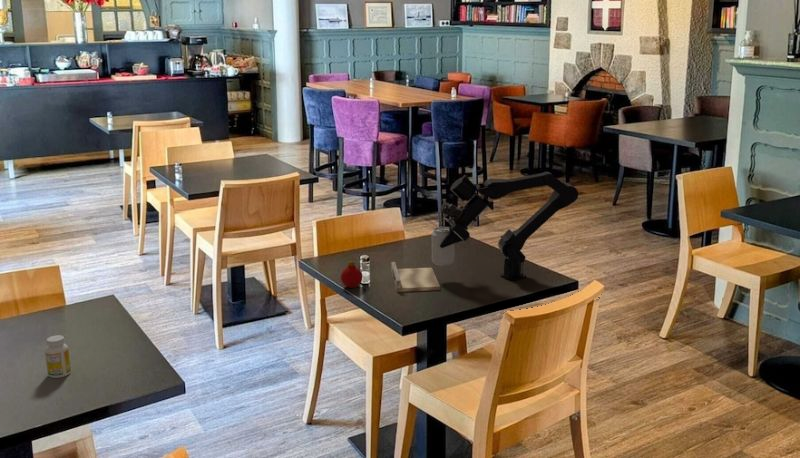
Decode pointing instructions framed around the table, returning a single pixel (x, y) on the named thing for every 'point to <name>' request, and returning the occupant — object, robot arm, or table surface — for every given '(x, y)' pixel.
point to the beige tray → (414, 279)
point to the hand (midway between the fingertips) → (438, 243)
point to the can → (441, 254)
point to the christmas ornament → (351, 275)
